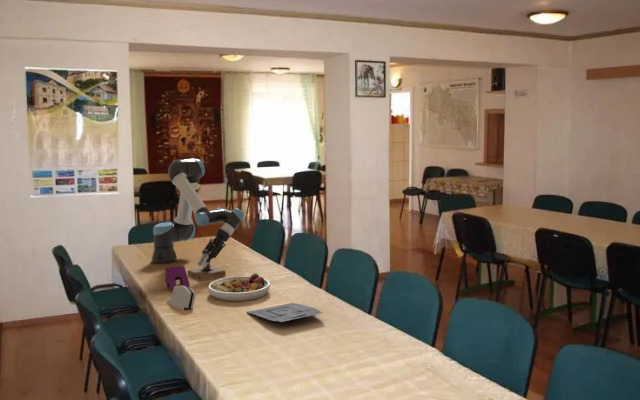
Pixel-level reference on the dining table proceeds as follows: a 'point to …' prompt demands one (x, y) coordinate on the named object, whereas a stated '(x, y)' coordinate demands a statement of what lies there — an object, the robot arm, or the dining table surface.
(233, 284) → the bowl
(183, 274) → the mounting bracket
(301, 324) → the dining table surface
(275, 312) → the grey flat panel
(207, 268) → the grey and black cylinder
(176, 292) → the napkin holder
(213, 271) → the socket block
